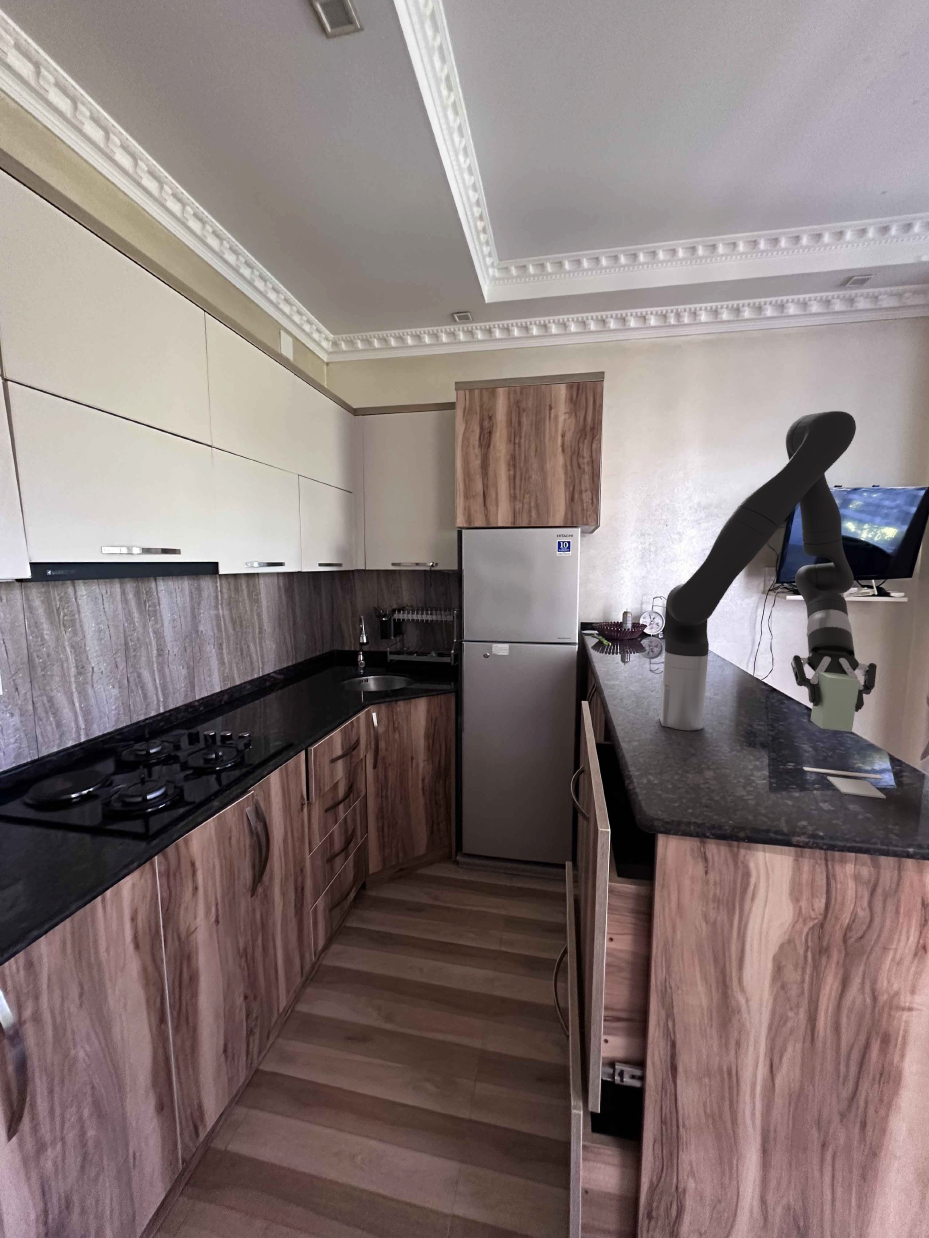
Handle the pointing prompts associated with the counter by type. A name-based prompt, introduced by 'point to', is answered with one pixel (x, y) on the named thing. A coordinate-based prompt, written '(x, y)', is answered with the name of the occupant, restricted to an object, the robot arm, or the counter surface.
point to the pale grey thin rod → (842, 773)
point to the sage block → (836, 701)
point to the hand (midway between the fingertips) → (836, 706)
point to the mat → (855, 787)
